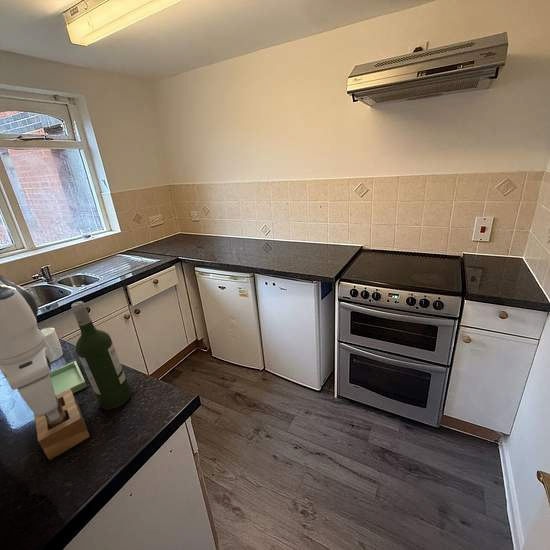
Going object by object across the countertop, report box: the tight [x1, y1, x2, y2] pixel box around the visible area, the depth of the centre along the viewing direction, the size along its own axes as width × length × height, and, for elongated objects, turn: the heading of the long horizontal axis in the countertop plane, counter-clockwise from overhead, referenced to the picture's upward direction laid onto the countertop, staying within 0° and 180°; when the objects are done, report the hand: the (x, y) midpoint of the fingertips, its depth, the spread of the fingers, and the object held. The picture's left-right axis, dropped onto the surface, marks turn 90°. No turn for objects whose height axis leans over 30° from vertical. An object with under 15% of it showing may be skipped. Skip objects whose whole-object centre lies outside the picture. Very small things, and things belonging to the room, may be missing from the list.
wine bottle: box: [71, 300, 132, 410], centre depth 77 cm, size 8×8×30 cm
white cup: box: [39, 327, 64, 363], centre depth 105 cm, size 8×8×10 cm
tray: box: [50, 360, 88, 395], centre depth 91 cm, size 15×11×2 cm
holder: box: [33, 389, 91, 461], centre depth 74 cm, size 15×8×6 cm, turn 42°
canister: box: [44, 396, 68, 428], centre depth 70 cm, size 3×3×12 cm
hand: (52, 406), depth 69 cm, fingers open, 8 cm apart
